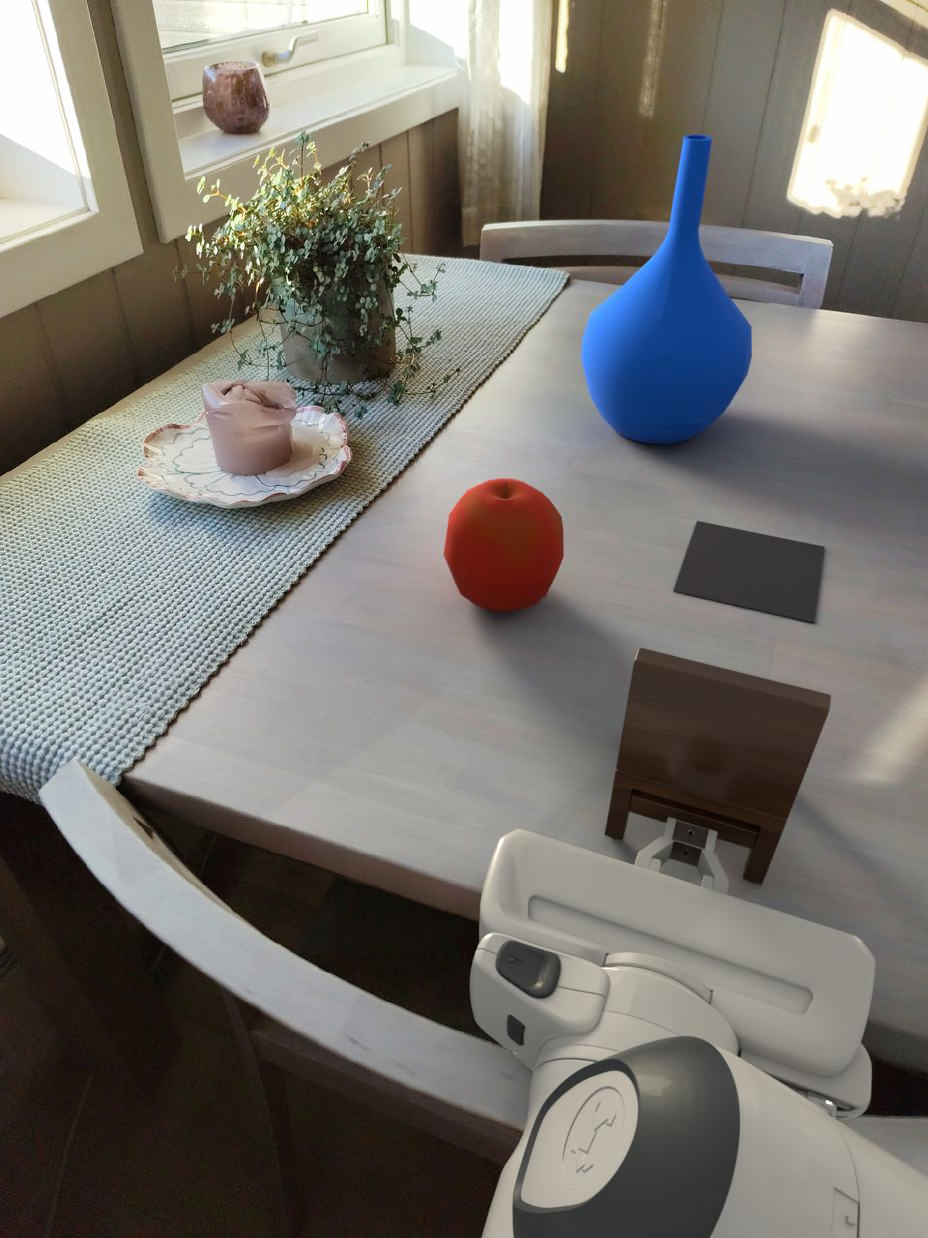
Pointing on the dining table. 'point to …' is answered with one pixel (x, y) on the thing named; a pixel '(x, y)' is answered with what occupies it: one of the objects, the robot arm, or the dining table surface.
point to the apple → (504, 545)
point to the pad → (752, 571)
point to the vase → (669, 331)
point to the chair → (714, 752)
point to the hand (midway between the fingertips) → (691, 830)
